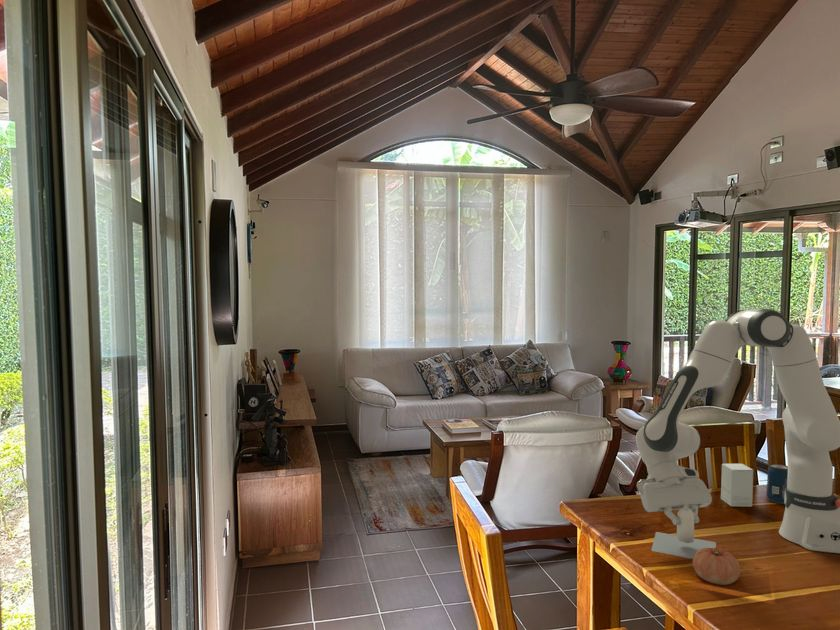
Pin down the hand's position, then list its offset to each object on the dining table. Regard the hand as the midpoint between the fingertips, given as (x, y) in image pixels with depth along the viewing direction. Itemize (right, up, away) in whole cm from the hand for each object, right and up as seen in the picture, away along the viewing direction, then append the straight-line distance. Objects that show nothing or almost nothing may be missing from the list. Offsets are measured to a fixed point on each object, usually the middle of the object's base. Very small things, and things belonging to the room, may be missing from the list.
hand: (687, 523), depth 168 cm
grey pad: (0, -8, +1) cm, 8 cm away
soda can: (+49, -6, +39) cm, 63 cm away
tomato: (0, -9, -16) cm, 18 cm away
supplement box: (+33, -6, +37) cm, 50 cm away
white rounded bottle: (0, -5, +1) cm, 5 cm away
